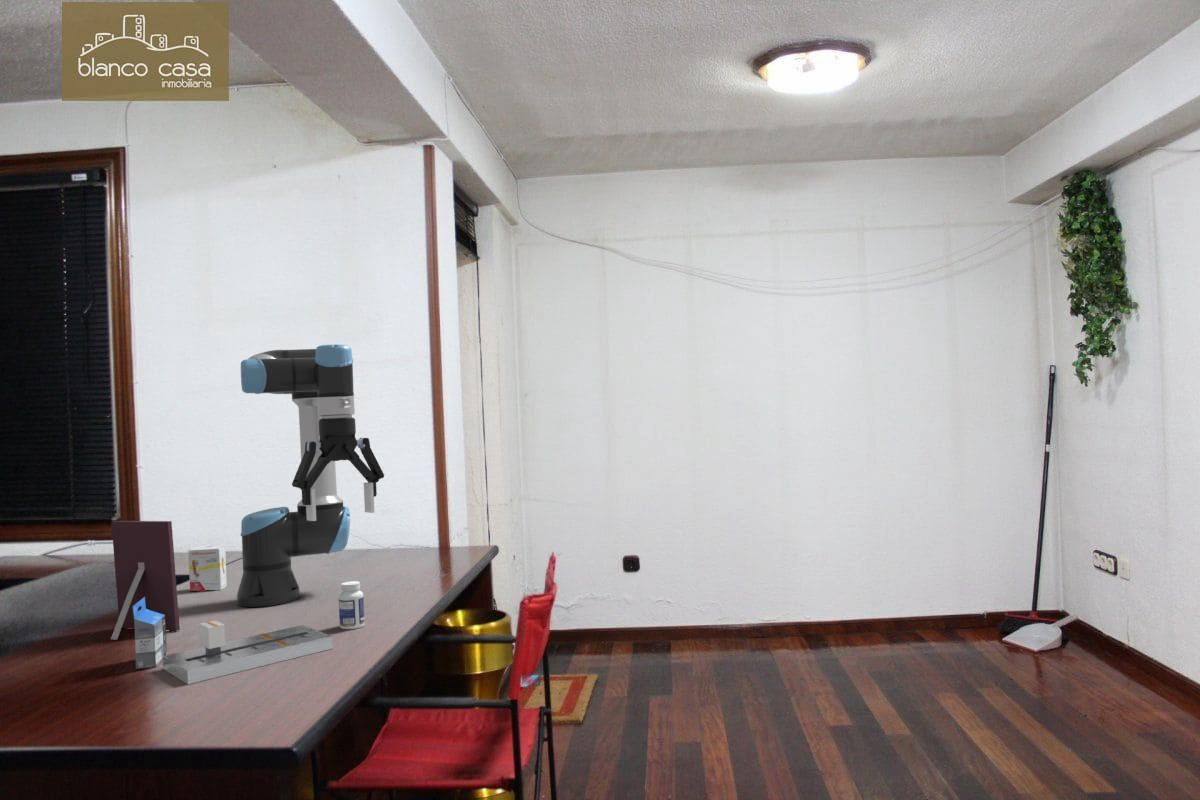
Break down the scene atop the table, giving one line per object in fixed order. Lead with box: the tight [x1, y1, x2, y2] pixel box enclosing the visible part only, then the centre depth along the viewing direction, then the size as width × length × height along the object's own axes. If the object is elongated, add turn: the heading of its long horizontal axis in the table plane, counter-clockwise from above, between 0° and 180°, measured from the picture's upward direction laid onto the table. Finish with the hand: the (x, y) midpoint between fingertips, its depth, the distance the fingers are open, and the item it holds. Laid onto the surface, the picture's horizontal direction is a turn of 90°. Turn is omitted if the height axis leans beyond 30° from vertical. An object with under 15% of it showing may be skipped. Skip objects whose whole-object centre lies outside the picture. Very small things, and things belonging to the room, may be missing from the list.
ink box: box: [187, 544, 228, 592], centre depth 241 cm, size 9×5×12 cm, turn 95°
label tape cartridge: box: [132, 597, 168, 670], centre depth 171 cm, size 9×4×12 cm, turn 15°
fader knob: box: [198, 620, 227, 657], centre depth 166 cm, size 5×3×8 cm, turn 44°
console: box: [162, 624, 334, 685], centre depth 171 cm, size 14×28×3 cm, turn 133°
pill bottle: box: [338, 580, 366, 630], centre depth 193 cm, size 5×5×10 cm
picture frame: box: [110, 520, 180, 640], centre depth 194 cm, size 17×10×25 cm, turn 71°
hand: (341, 516), depth 185 cm, fingers open, 13 cm apart
